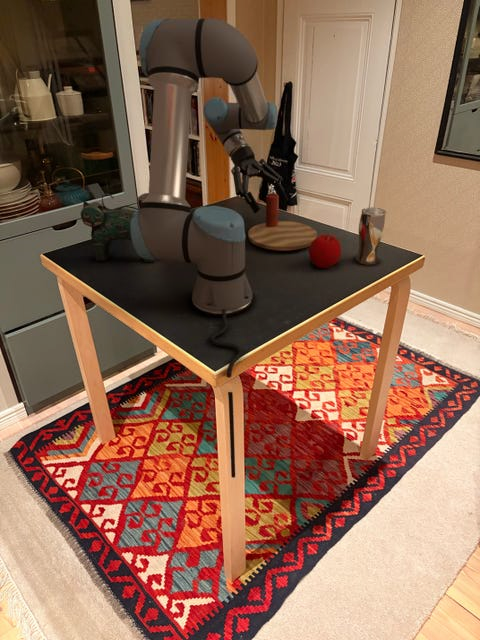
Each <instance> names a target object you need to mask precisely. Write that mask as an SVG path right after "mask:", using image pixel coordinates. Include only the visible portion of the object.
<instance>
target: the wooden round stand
mask: <svg viewBox="0 0 480 640" xmlns="http://www.w3.org/2000/svg"><path fill="white" fill-rule="evenodd" d="M265 199H266V200H265V201H266V202H265V222H262V223H259V224H256V225H254V226H252V227H251V228H250V229H249V230H248V233H247V237H248V240H249V242H251V243H252V244H253V245H255V246H257V247H259V248H262V249H266V250H270V251H271V250H272V251H295V250H302V249H306V248H308V247H310V245H311V243H312V242H313V241H314V240H315V239H316V238H317V237H318V232H317V231H316V229H314V227H312V226H309V225H308V224H304V223H301V222H298V221H297V222H296V221H290V220H289V221H288V220H279V202H280V198H279V195H278V194H277V193H267V194H266V197H265Z"/></svg>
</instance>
